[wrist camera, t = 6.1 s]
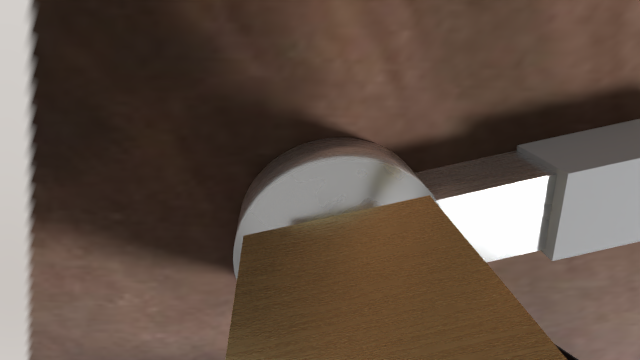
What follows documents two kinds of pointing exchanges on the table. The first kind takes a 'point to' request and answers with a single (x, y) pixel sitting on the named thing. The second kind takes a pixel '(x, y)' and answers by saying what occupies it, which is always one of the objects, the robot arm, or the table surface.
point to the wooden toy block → (376, 293)
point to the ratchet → (468, 191)
